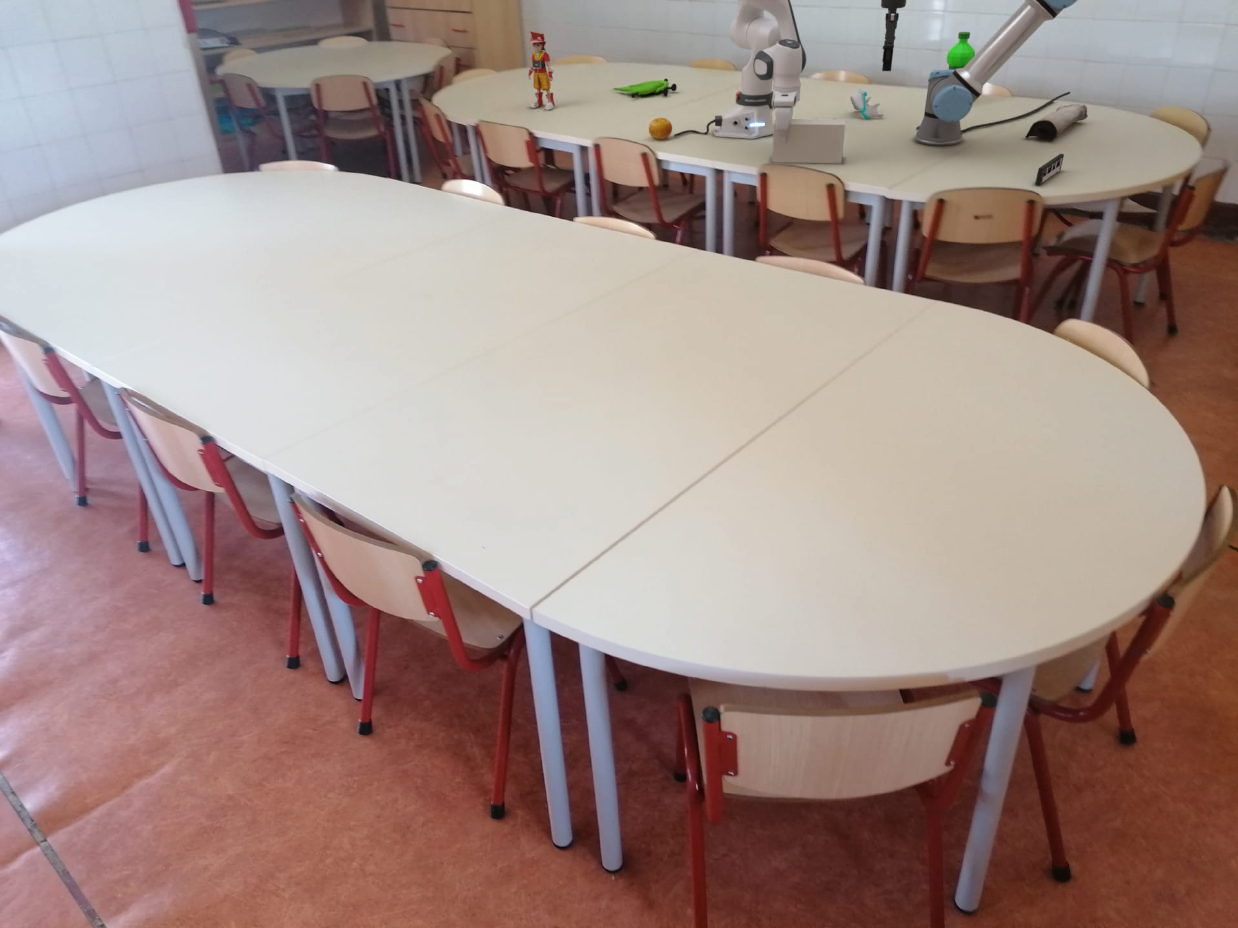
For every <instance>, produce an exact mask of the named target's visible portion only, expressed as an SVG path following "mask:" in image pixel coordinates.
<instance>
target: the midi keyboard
mask: <svg viewBox="0 0 1238 928" xmlns="http://www.w3.org/2000/svg"><path fill="white" fill-rule="evenodd" d="M1064 157H1065V153H1059V154H1058V155H1056V156H1055V157H1052V159H1051V160H1049V161H1047V162H1045V164H1042V165H1041V166H1039V167H1038V169H1037V175H1036V179H1035V186H1040V185H1042V183H1044V182H1045V181H1047V180H1048V179H1049V178H1051V177H1052V176H1054V175H1055V174H1056V173H1058V172H1060V171H1061V170H1062V165H1063V161H1064Z"/></svg>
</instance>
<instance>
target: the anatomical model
mask: <svg viewBox="0 0 1238 928" xmlns="http://www.w3.org/2000/svg"><path fill="white" fill-rule="evenodd" d="M858 89H859V90H858V91H857V93H855V94H851V96H850V102H851V104H852V106H853V109H854V110H856V111H859V112H860V114H861V115H862V117H863V118H864V119H865V120H870V119H871V118H882V117H884V113H883V112H878V108H879V106H880V105H881V103H880V102H877V103H874V104H871V105H869V101H870V100H871V99H872V96H869V97H867V96H868V92H867V91H865V90H864V89H863V88H858Z"/></svg>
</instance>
